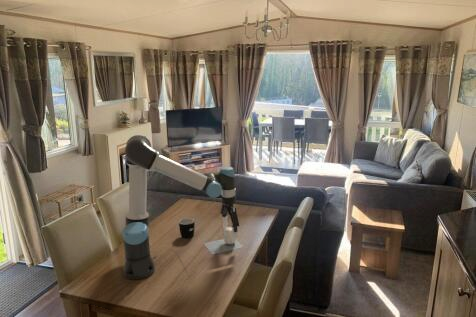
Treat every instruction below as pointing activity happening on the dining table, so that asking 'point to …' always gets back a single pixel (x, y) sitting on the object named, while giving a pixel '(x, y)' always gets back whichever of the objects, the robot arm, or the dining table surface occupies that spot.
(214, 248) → the post board
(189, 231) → the mug
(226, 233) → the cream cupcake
